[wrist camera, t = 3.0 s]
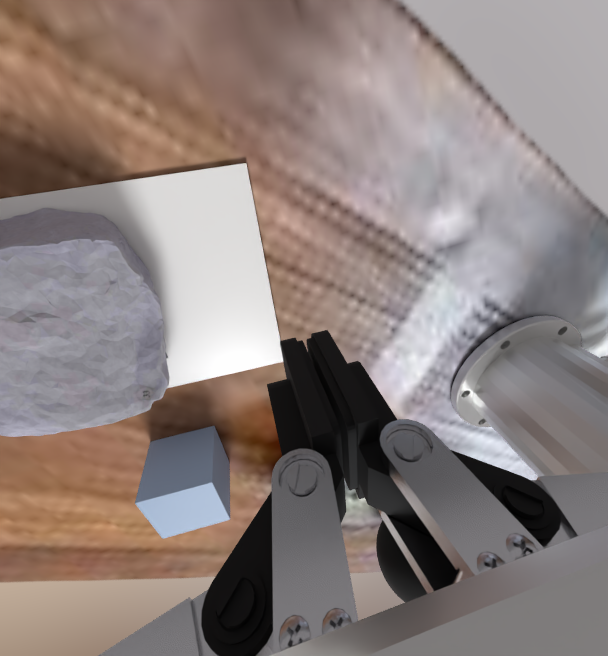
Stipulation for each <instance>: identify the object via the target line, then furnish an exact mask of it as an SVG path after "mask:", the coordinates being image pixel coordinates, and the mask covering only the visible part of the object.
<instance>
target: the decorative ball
mask: <svg viewBox="0 0 608 656" xmlns="http://www.w3.org/2000/svg"><path fill="white" fill-rule="evenodd" d="M377 557H378V561H379V565H380V568H381V571H382V573H383V575H384V577H385V579H386V581H387V583H388V584H389V586H390V587H391V588H392V590H393V591H394V592H395V593H396V594H397V596H398V597H400V598H401V599H402V600H403V601H404V602H408V601H411V600H413V599H416V598H419V597H421V596H424V595H426V594H427V592H426V590H425V589H424V587H423V585H422V584H421V582H420V580H419V579H418V577H417V575H416V574H415V572H414V570H413V569H412V567H411V565H410V564H409V562H408V561H407V559H406V557H405V556H404V554H403V552H402V551H401V549H400V547H399V546H398V544H397V542H396V541H395V539H394V537H393V536H392V534H391V532H390V531H389V529H388V527H387V526H386V524H385V522H384V521H382V523H381V525H380V527H379V530H378V534H377Z"/></svg>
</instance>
